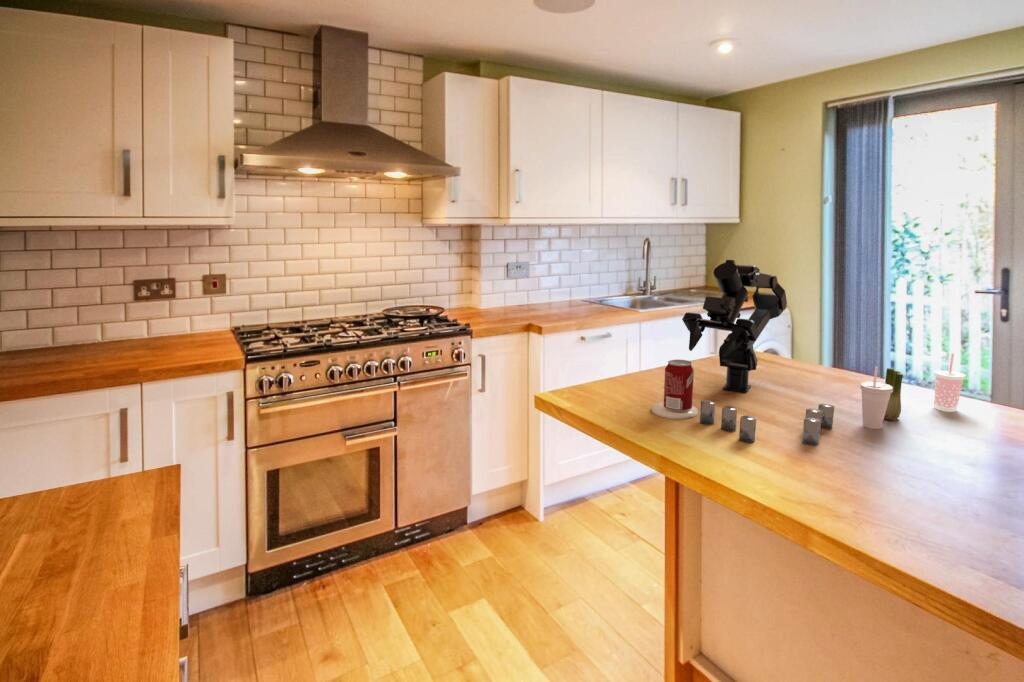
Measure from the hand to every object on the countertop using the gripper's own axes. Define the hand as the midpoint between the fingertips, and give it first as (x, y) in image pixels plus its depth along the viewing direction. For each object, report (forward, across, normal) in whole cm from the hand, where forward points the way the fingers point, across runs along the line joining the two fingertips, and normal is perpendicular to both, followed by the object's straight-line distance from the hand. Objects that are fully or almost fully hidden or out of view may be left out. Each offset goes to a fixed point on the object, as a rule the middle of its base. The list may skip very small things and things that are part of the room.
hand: (706, 352), depth 153 cm
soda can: (+17, -1, +2) cm, 17 cm away
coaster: (+17, -2, +2) cm, 17 cm away
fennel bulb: (-5, +36, +24) cm, 44 cm away
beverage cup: (-17, +44, +37) cm, 60 cm away
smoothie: (+1, +36, +18) cm, 40 cm away
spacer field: (+15, +21, +4) cm, 26 cm away
